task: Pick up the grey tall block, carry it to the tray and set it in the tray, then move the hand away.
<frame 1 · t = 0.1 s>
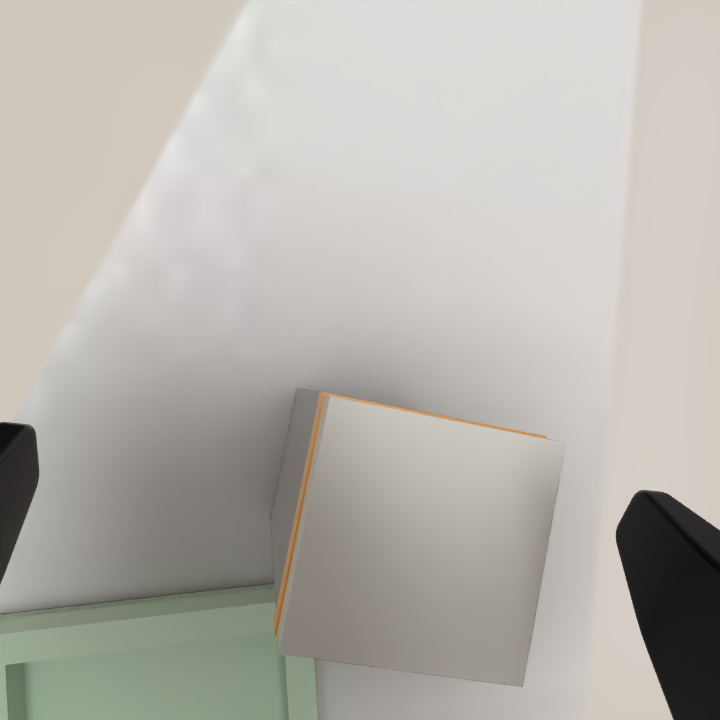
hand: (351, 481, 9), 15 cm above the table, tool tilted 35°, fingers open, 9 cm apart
grey tall block: (347, 464, 24), on the table
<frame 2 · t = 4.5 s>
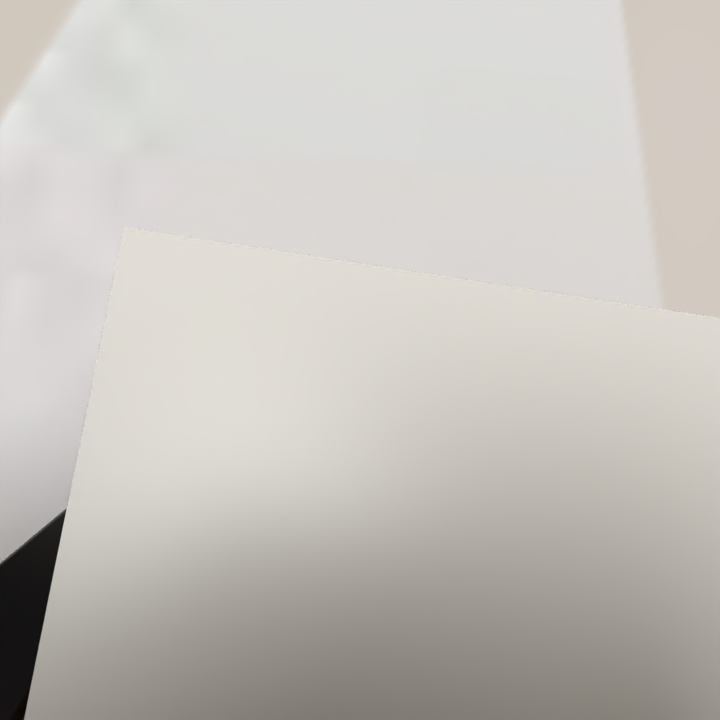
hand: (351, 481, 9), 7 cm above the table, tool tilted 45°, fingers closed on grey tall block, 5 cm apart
grey tall block: (302, 554, 15), on the table, touching gripper
when the fingers open (8 cm above the table, at t = 9.3 s): grey tall block drops 1 cm, resting on tray.
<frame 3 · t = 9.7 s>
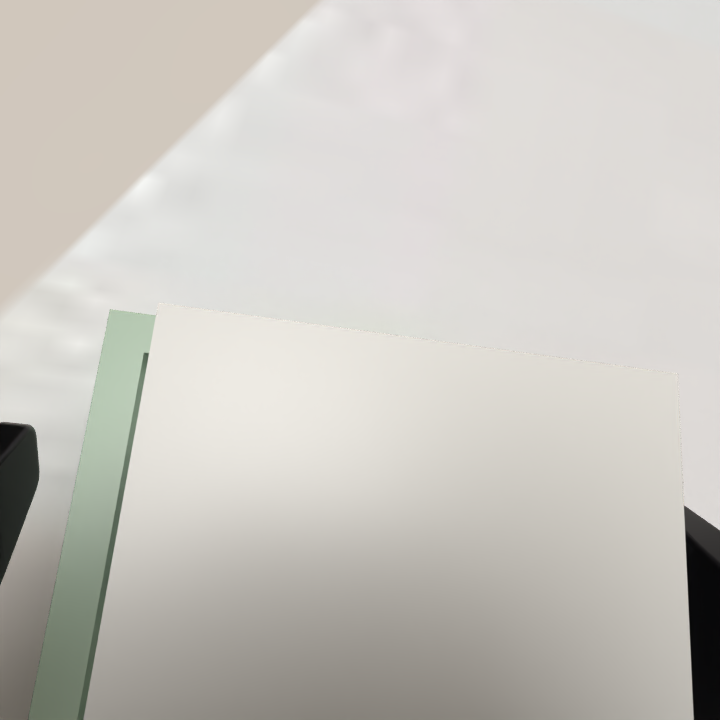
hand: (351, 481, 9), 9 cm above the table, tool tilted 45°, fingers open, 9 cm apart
grey tall block: (299, 551, 17), resting on tray
tray: (296, 550, 17), on the table
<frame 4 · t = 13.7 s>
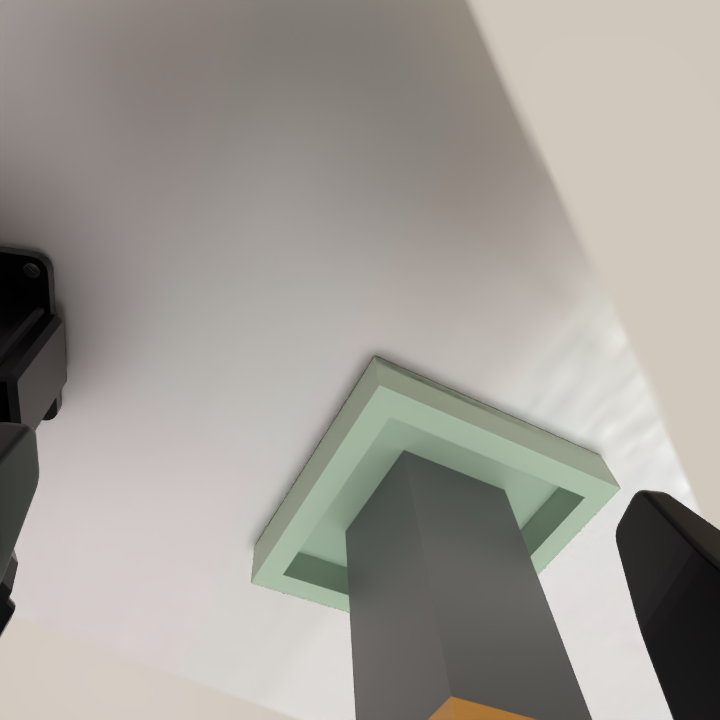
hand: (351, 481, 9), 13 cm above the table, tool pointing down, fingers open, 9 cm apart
grey tall block: (424, 511, 27), resting on tray
tray: (423, 502, 27), on the table
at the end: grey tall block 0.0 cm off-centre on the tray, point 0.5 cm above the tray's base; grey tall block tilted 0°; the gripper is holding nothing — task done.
